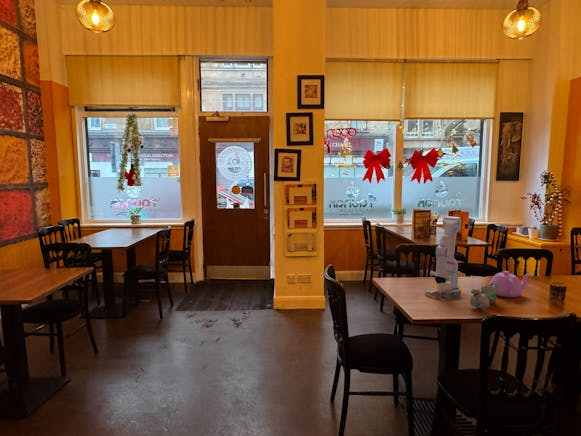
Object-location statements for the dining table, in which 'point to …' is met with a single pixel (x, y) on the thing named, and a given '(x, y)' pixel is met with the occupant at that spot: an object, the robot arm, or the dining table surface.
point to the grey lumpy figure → (479, 299)
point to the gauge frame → (444, 294)
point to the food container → (490, 292)
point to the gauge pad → (443, 287)
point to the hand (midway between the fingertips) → (440, 289)
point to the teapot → (509, 284)
